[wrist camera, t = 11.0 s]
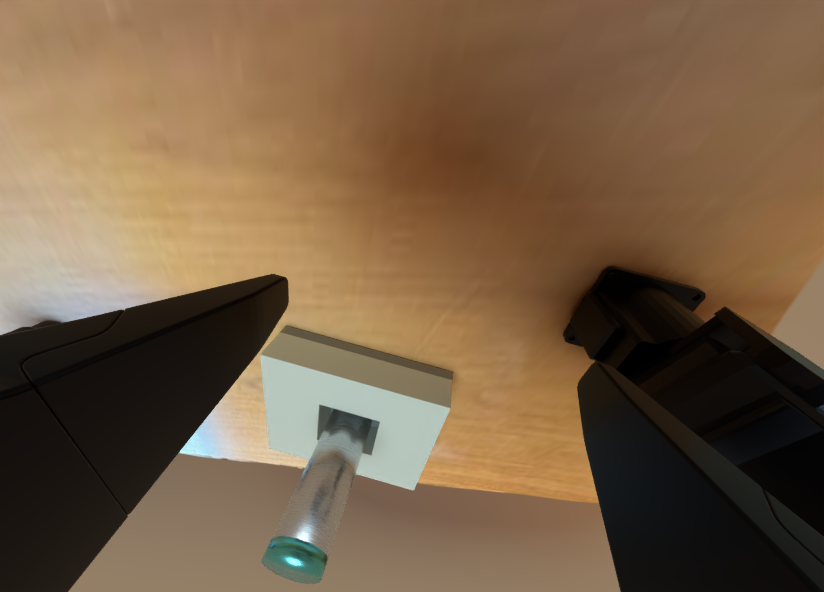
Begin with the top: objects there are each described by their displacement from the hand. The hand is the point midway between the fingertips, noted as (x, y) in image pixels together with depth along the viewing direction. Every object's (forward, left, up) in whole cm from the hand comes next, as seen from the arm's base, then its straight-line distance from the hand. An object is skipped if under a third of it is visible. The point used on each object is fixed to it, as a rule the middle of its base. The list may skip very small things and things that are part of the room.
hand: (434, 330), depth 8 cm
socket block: (+4, +21, -13) cm, 25 cm away
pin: (+4, +21, -12) cm, 24 cm away
